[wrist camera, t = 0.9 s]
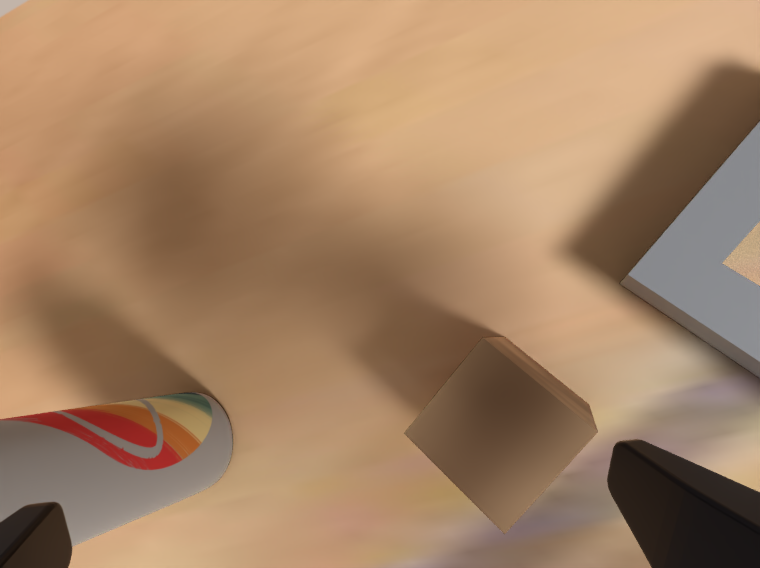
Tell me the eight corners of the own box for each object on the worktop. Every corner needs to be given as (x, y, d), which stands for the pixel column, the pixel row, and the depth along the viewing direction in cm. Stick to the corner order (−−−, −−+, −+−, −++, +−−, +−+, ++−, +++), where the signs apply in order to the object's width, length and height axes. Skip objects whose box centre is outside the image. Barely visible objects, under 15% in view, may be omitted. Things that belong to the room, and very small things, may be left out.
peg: (588, 404, 19) (598, 432, 14) (522, 479, 20) (504, 534, 14) (505, 336, 21) (482, 337, 15) (445, 408, 21) (403, 433, 16)
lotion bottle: (202, 371, 27) (-557, 442, 9) (252, 448, 25) (-587, 744, 7) (148, 432, 28) (-624, 608, 10) (192, 510, 26) (-667, 908, 8)
